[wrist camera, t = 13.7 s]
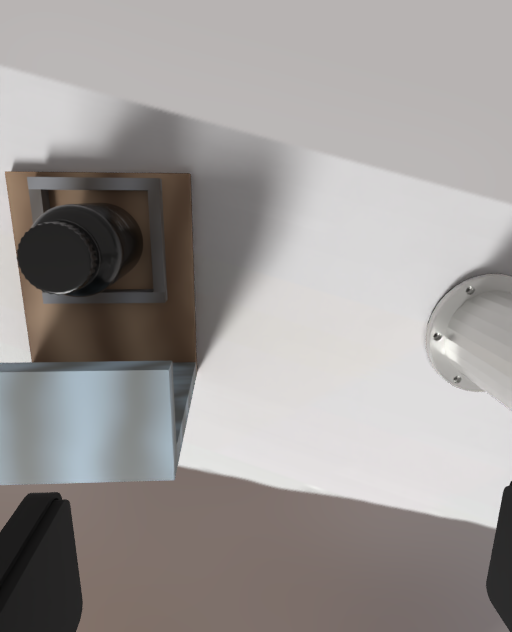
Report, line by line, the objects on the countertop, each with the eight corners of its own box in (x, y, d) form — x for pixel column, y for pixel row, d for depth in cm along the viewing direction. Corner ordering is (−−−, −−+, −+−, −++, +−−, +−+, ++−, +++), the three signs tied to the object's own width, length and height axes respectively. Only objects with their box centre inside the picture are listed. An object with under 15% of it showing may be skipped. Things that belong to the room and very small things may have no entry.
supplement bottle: (56, 216, 38) (-21, 222, 26) (128, 192, 37) (82, 188, 26) (87, 287, 40) (27, 322, 28) (156, 265, 39) (124, 291, 28)
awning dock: (190, 174, 38) (157, 151, 21) (197, 372, 43) (174, 479, 27) (10, 172, 37) (-172, 147, 21) (38, 374, 43) (-89, 487, 26)
